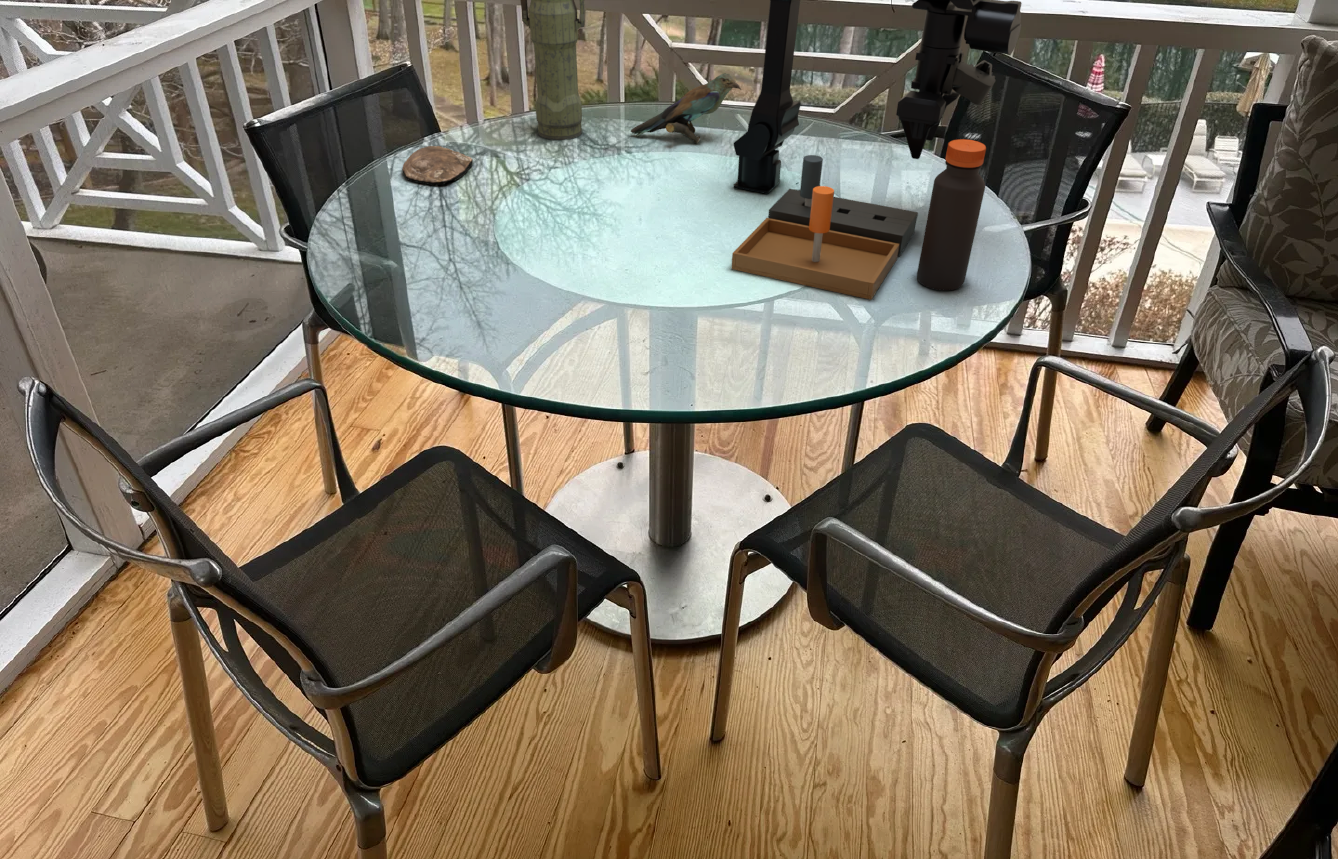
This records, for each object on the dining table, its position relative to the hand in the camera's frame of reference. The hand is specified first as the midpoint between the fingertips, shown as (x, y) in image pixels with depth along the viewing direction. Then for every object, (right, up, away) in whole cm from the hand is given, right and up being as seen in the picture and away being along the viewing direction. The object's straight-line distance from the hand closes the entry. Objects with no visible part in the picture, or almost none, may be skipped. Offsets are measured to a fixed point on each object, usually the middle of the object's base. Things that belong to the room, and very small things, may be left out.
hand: (922, 148), depth 146 cm
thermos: (-61, +15, +40) cm, 75 cm away
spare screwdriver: (-17, -11, +6) cm, 21 cm away
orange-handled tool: (-18, -18, -6) cm, 26 cm away
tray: (-18, -19, -6) cm, 27 cm away
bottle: (0, -22, -10) cm, 24 cm away
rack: (-12, -12, +4) cm, 17 cm away
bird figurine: (-37, +13, +37) cm, 54 cm away
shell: (-81, +3, +23) cm, 85 cm away
